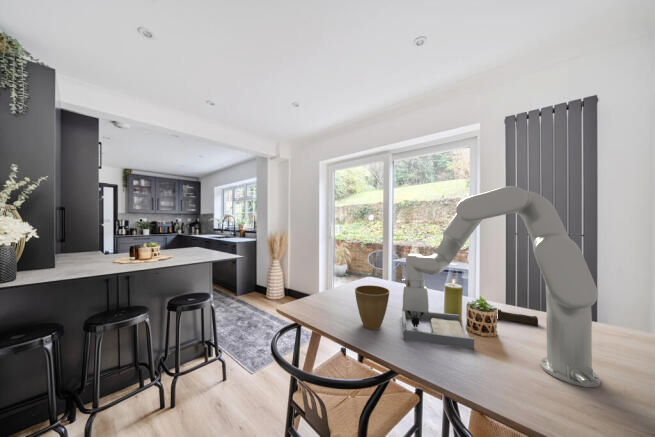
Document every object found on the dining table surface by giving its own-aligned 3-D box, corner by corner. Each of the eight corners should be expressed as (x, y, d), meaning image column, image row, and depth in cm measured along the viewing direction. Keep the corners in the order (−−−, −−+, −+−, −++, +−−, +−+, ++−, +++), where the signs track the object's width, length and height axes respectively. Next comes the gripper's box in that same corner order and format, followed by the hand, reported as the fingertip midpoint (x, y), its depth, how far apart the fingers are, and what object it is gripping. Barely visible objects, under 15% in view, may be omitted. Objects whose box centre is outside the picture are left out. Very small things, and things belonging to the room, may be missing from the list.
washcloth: (459, 325, 104) (458, 318, 104) (469, 347, 87) (469, 338, 87) (429, 322, 108) (429, 315, 108) (434, 342, 91) (433, 333, 91)
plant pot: (388, 336, 94) (388, 296, 94) (351, 331, 99) (351, 293, 99) (391, 321, 108) (390, 286, 108) (358, 317, 113) (358, 283, 113)
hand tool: (536, 324, 104) (536, 313, 104) (538, 327, 101) (538, 316, 101) (485, 315, 114) (485, 305, 114) (485, 318, 111) (485, 308, 111)
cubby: (474, 349, 85) (474, 339, 85) (403, 339, 92) (403, 330, 92) (458, 322, 106) (458, 314, 106) (402, 316, 113) (402, 309, 113)
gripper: (396, 284, 99) (397, 327, 99) (435, 286, 95) (435, 332, 95) (396, 279, 107) (397, 320, 107) (432, 281, 102) (433, 324, 102)
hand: (415, 325), depth 101 cm, fingers closed
